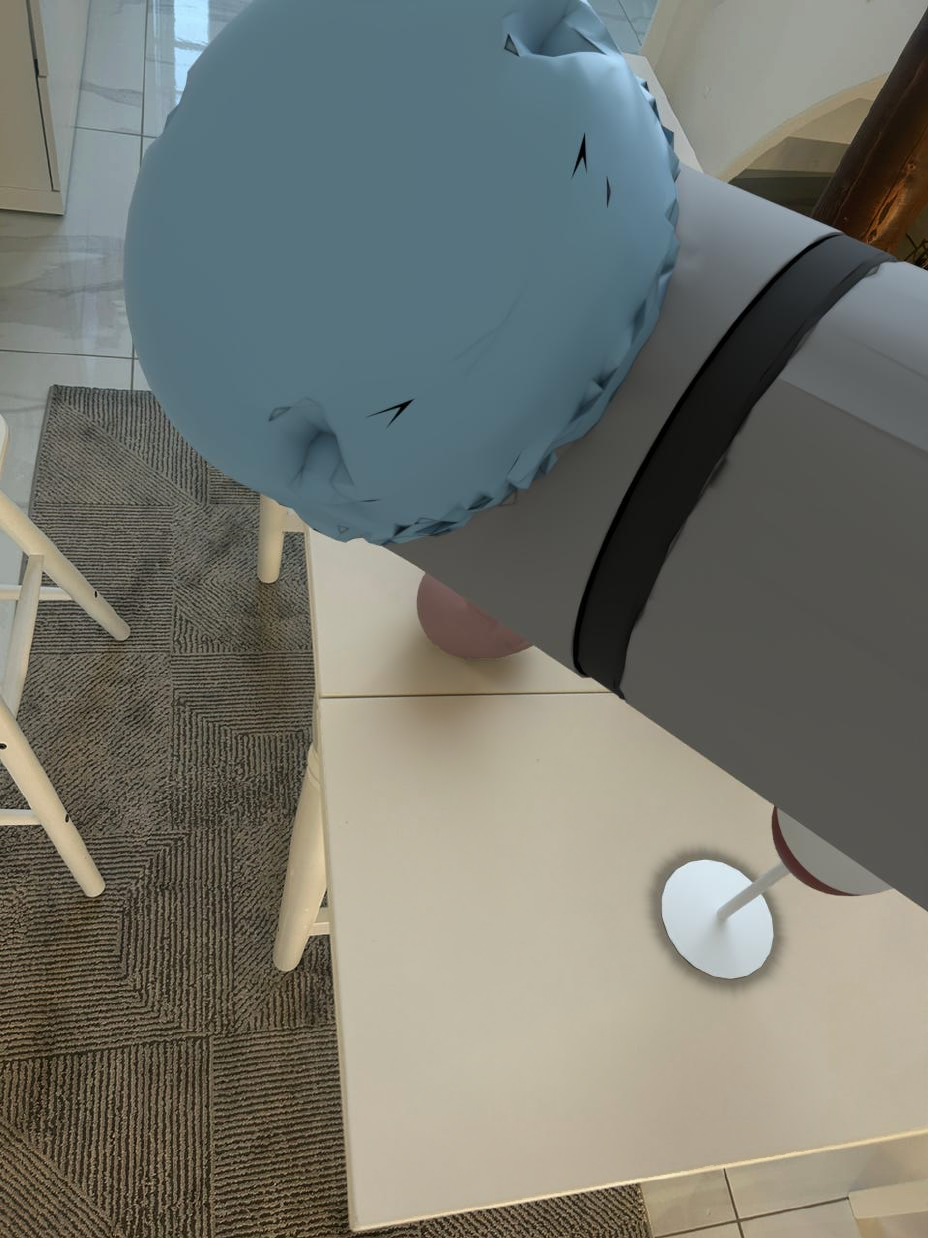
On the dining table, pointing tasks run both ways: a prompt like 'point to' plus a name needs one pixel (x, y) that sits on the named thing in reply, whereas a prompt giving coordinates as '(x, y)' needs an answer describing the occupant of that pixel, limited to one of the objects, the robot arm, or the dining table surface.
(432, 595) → the figurine
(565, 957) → the dining table surface
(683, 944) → the wineglass
